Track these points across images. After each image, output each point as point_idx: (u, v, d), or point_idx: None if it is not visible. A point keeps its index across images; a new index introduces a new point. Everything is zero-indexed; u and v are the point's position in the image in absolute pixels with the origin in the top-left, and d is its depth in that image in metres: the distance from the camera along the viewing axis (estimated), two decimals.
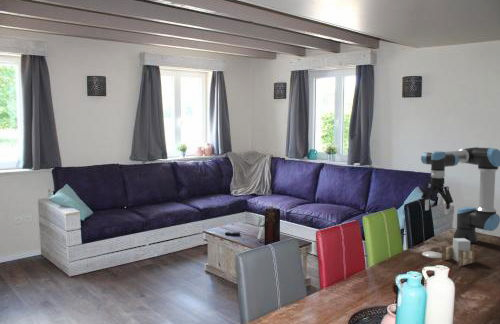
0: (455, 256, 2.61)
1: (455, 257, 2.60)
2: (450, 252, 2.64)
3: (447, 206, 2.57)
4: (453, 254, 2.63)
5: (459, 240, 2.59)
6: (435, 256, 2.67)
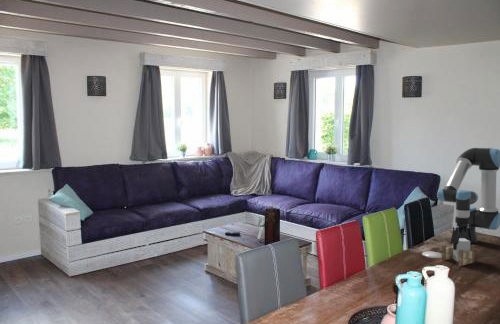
0: (455, 256, 2.61)
1: (455, 257, 2.60)
2: (450, 252, 2.64)
3: None
4: None
5: (459, 240, 2.59)
6: (435, 256, 2.67)
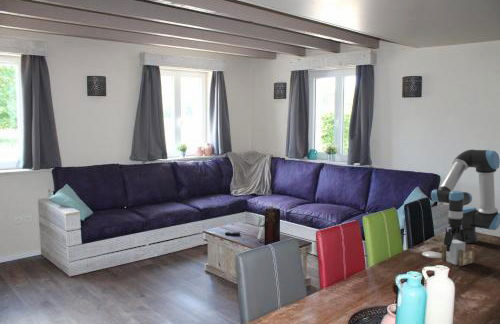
0: (451, 259, 2.56)
1: (452, 259, 2.55)
2: None
3: None
4: (448, 257, 2.58)
5: (455, 242, 2.55)
6: (435, 256, 2.67)
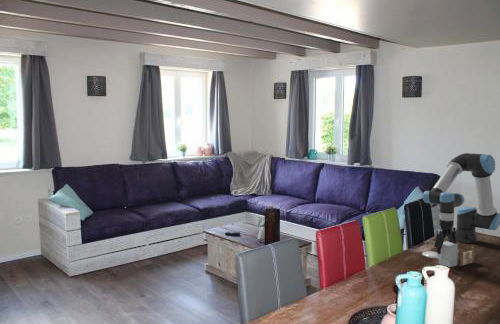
0: (444, 261, 2.51)
1: (446, 262, 2.50)
2: None
3: None
4: None
5: (448, 244, 2.50)
6: (435, 256, 2.67)
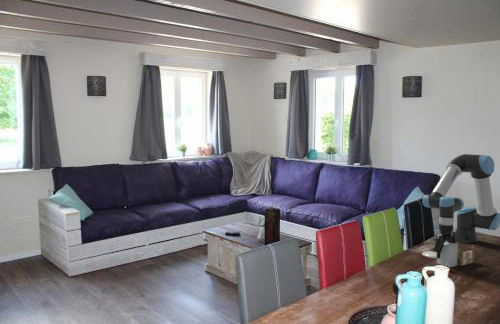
0: (444, 261, 2.51)
1: (445, 262, 2.50)
2: None
3: None
4: None
5: (448, 244, 2.50)
6: (435, 256, 2.67)
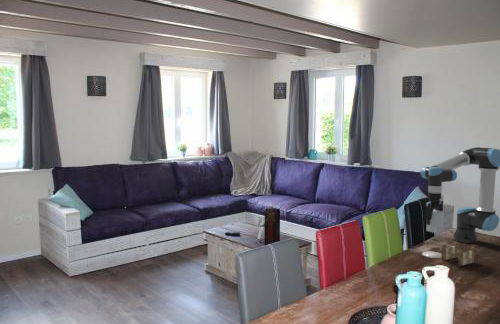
0: (431, 228, 2.66)
1: (433, 228, 2.66)
2: (450, 252, 2.64)
3: None
4: None
5: (435, 211, 2.65)
6: (435, 256, 2.67)
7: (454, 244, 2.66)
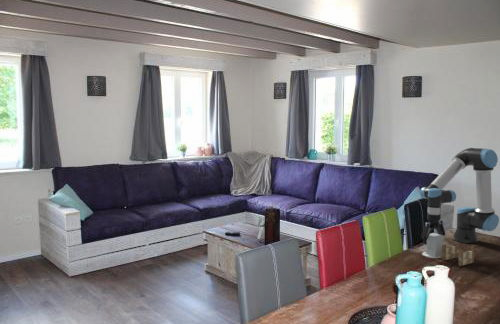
0: (431, 251, 2.68)
1: (432, 252, 2.67)
2: (450, 252, 2.64)
3: None
4: (427, 250, 2.70)
5: (434, 235, 2.67)
6: None
7: (454, 244, 2.66)
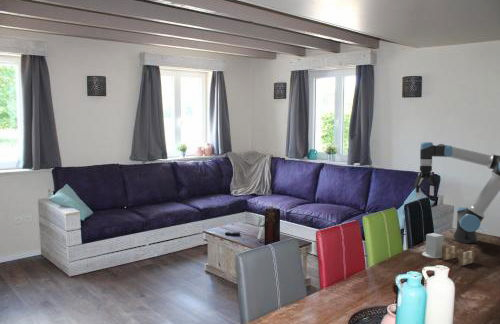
0: (431, 251, 2.68)
1: (432, 252, 2.67)
2: (450, 252, 2.64)
3: None
4: (427, 250, 2.70)
5: (434, 235, 2.67)
6: None
7: (454, 244, 2.66)
